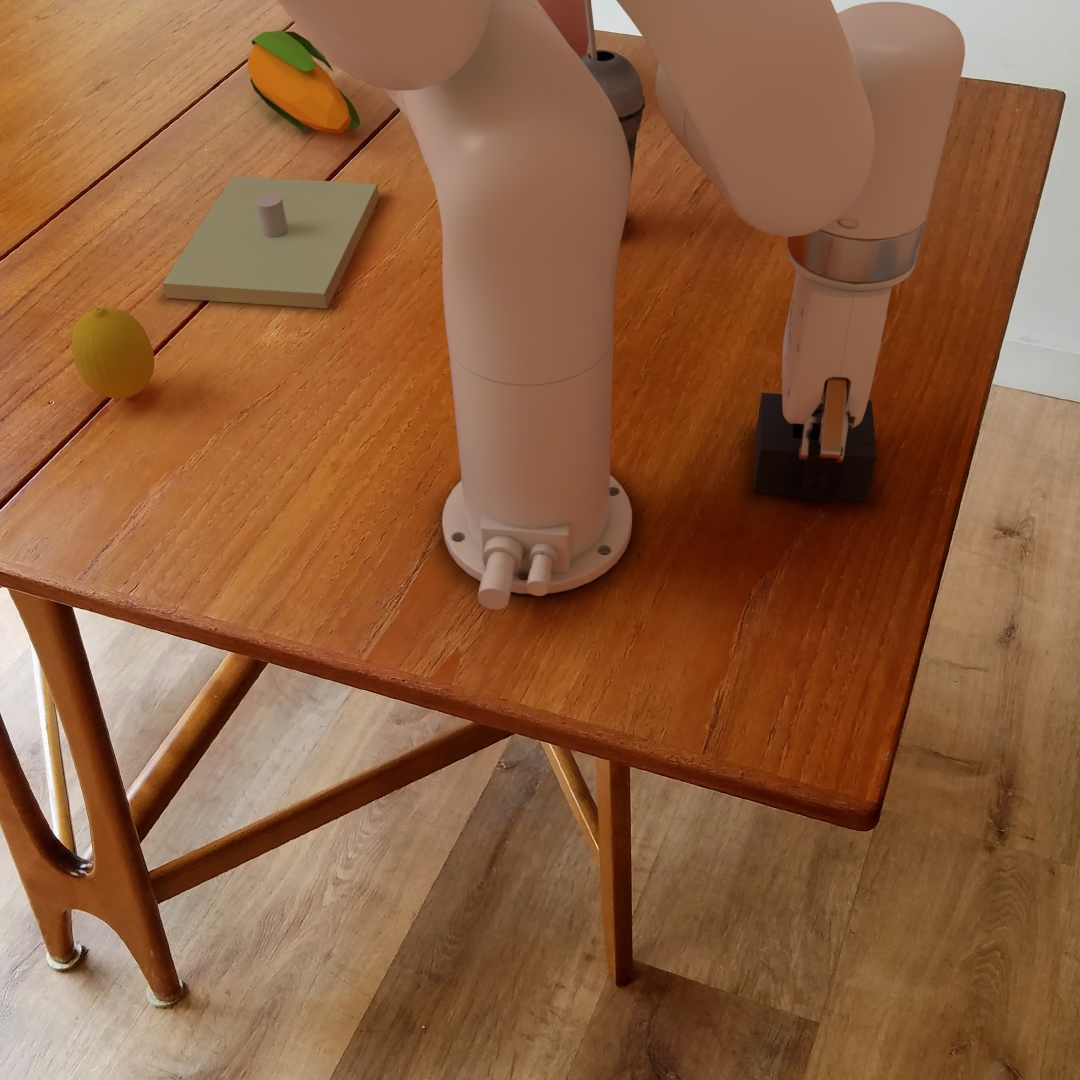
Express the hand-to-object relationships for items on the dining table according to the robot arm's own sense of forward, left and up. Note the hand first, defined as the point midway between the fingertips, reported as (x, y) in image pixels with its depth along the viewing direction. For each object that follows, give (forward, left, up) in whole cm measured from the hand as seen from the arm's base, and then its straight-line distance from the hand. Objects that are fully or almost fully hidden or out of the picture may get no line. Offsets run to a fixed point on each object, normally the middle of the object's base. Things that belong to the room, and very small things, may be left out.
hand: (810, 461), depth 80 cm
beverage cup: (+30, +18, -1) cm, 35 cm away
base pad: (+24, +46, -1) cm, 52 cm away
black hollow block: (0, 0, -1) cm, 1 cm away
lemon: (+2, +51, -1) cm, 51 cm away
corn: (+48, +50, -1) cm, 69 cm away
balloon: (+52, +31, -1) cm, 61 cm away
